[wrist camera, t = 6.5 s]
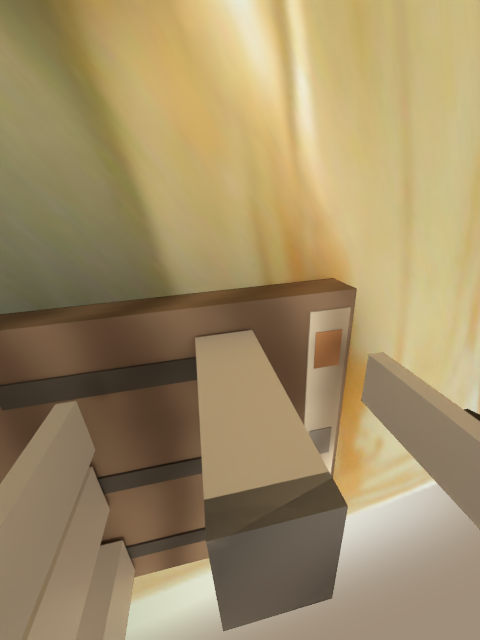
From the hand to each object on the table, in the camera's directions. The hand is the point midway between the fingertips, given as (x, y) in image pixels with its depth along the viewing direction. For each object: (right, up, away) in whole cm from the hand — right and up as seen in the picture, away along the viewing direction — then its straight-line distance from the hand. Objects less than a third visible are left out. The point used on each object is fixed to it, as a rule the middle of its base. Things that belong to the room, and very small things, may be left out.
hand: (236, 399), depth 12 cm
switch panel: (-5, -5, +7) cm, 11 cm away
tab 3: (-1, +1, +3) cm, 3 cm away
